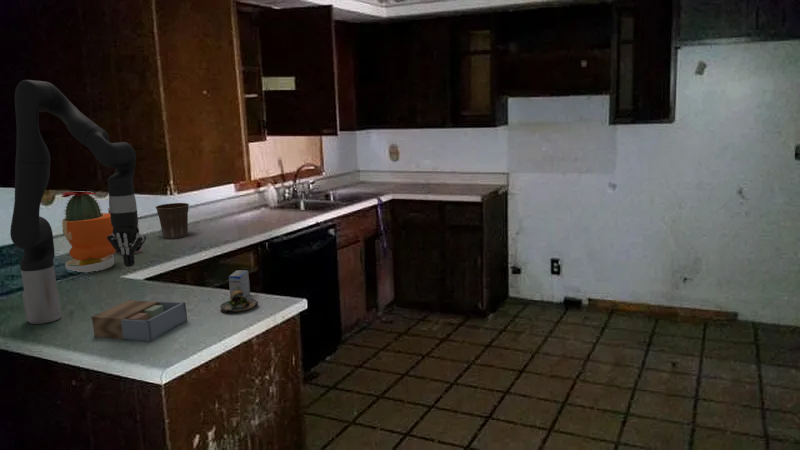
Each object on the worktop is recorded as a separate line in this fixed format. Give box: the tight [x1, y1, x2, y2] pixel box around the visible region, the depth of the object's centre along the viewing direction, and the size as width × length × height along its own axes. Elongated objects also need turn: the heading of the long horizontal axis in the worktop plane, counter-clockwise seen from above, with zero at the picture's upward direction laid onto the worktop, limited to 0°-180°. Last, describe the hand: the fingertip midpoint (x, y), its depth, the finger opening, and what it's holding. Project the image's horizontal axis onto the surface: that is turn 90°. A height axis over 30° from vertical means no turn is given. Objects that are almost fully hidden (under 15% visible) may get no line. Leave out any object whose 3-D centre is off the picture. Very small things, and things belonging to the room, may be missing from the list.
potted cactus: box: [60, 191, 116, 273], centre depth 273 cm, size 22×22×35 cm
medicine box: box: [228, 269, 251, 299], centre depth 224 cm, size 8×4×9 cm, turn 175°
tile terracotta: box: [128, 313, 148, 321], centre depth 192 cm, size 5×5×3 cm
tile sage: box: [144, 305, 164, 320], centre depth 199 cm, size 5×5×3 cm
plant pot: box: [155, 202, 190, 240], centre depth 334 cm, size 16×16×16 cm
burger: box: [220, 289, 259, 315], centre depth 212 cm, size 12×12×8 cm
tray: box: [121, 300, 188, 343], centre depth 195 cm, size 9×18×6 cm, turn 163°
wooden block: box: [91, 299, 159, 339], centre depth 198 cm, size 11×16×6 cm
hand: (129, 266), depth 199 cm, fingers closed
